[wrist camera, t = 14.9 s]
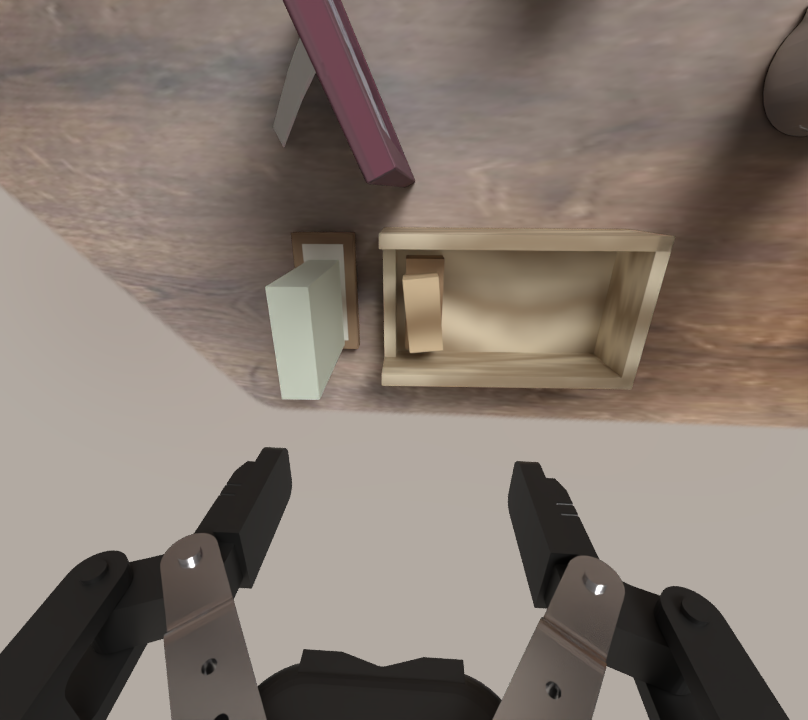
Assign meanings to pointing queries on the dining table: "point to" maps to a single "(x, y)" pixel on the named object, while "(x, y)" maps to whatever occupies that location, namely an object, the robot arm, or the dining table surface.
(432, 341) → the offcut upper
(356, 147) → the picture frame
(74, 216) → the dining table surface
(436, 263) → the offcut lower
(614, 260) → the tray
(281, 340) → the pale green slanted prism
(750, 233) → the dining table surface
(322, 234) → the board
